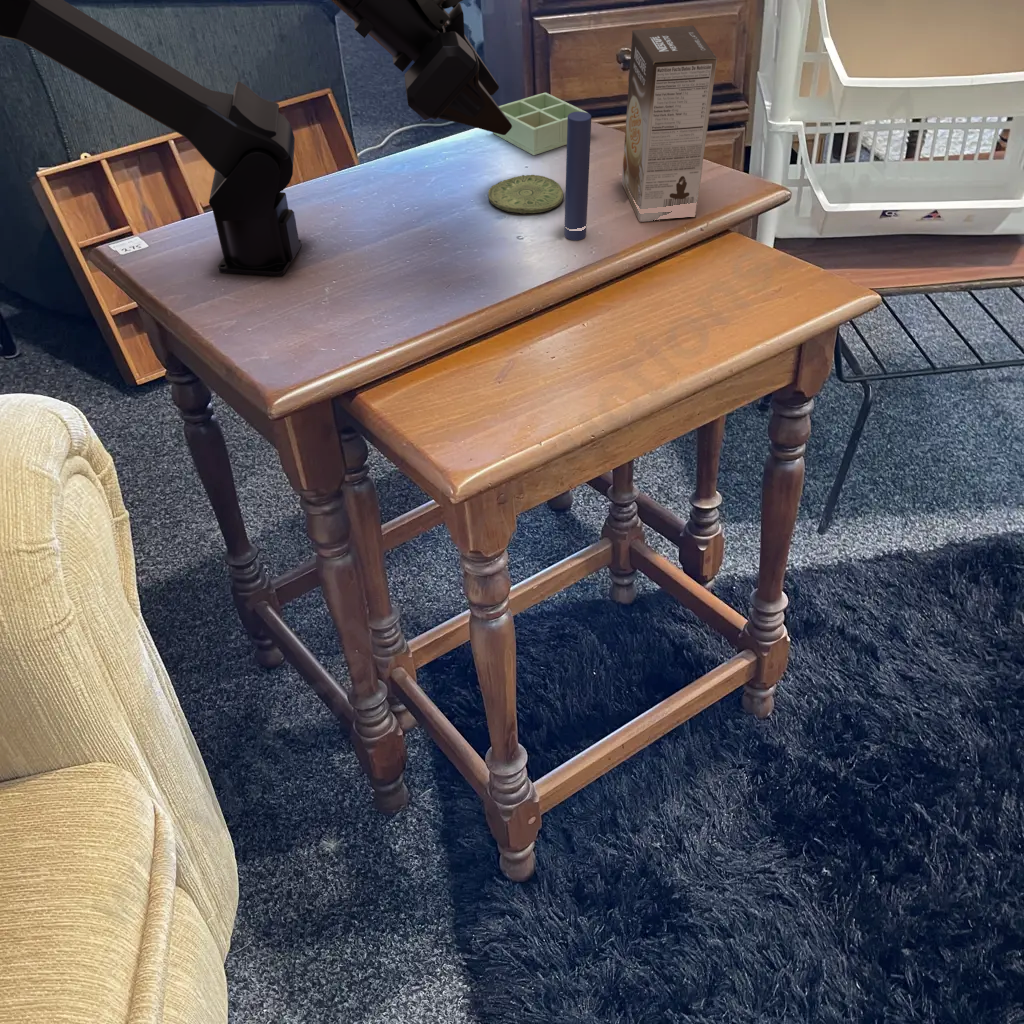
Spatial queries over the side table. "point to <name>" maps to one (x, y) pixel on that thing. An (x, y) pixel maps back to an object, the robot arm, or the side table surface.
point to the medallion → (526, 194)
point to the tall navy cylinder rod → (577, 174)
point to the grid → (538, 122)
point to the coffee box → (666, 117)
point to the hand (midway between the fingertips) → (501, 110)
